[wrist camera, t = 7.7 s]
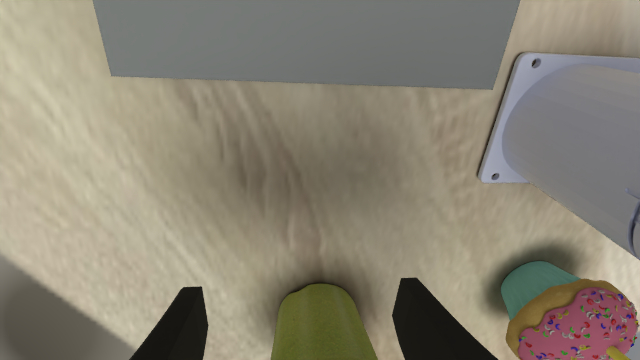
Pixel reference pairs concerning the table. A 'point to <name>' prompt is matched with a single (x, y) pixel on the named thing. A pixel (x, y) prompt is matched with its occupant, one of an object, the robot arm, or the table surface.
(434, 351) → the robot arm
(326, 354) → the plant pot
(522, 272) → the cupcake
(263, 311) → the table surface
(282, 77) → the mat
